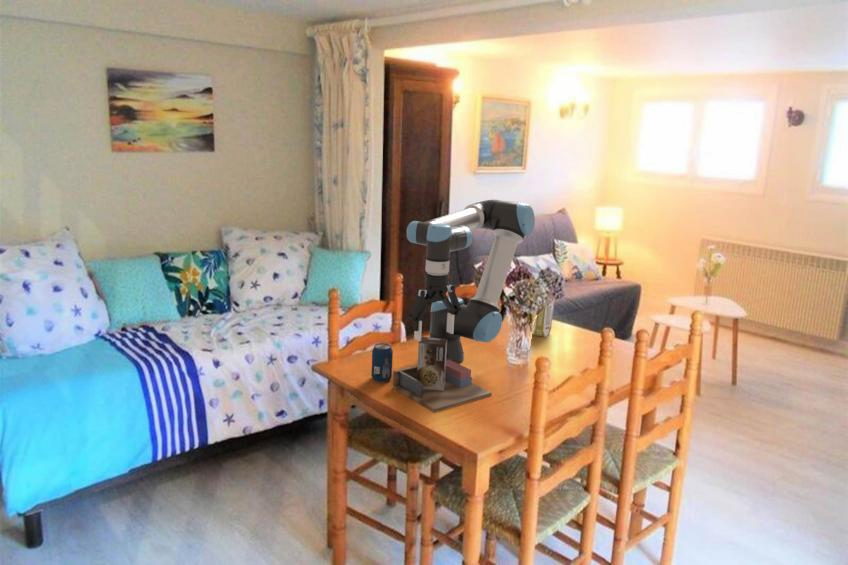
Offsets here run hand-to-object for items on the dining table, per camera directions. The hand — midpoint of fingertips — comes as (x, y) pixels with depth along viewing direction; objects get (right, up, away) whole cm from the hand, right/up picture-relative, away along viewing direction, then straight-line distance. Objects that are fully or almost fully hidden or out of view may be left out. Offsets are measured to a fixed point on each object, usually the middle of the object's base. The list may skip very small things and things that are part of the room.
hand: (434, 336), depth 206 cm
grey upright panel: (-8, -18, -1) cm, 19 cm away
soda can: (-18, -16, +10) cm, 26 cm away
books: (+7, -16, +10) cm, 20 cm away
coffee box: (-1, -17, +4) cm, 18 cm away
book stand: (+3, -18, +3) cm, 19 cm away
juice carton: (+47, -5, +69) cm, 84 cm away
